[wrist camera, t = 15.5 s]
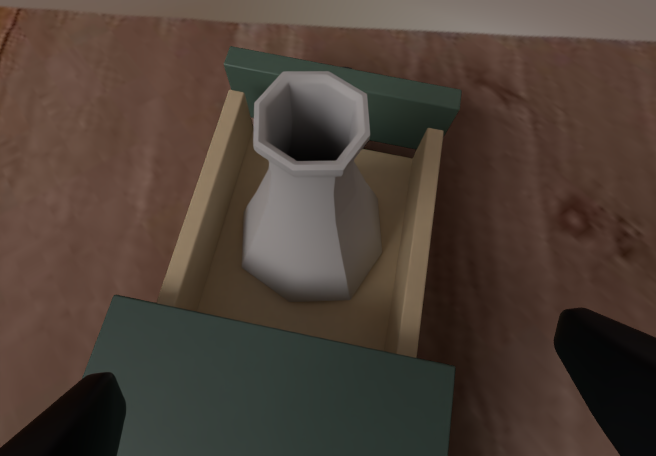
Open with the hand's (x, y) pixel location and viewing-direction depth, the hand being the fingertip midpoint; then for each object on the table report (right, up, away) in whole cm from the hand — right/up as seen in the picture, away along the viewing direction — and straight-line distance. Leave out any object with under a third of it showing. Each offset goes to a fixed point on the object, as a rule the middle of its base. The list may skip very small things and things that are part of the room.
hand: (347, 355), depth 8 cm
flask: (-1, +2, +12) cm, 12 cm away
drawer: (-1, +3, +13) cm, 13 cm away
